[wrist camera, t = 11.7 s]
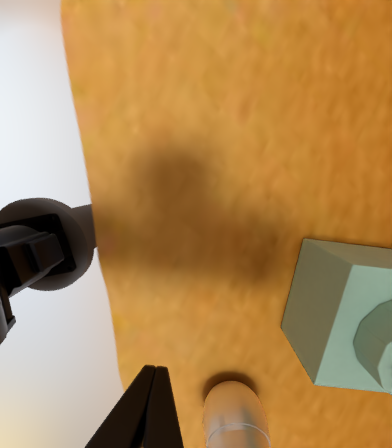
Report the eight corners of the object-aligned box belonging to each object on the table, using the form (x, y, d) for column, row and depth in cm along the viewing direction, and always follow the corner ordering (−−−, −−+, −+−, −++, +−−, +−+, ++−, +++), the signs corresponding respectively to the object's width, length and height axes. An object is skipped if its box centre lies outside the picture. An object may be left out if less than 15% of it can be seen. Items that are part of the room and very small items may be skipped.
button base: (280, 327, 21) (331, 416, 13) (303, 238, 18) (381, 279, 11) (371, 337, 21) (476, 430, 13) (404, 250, 19) (553, 300, 11)
